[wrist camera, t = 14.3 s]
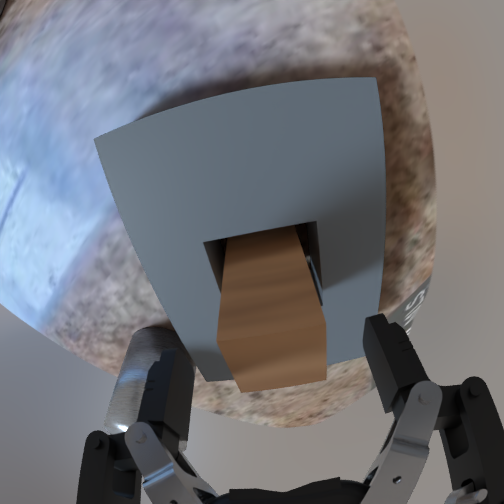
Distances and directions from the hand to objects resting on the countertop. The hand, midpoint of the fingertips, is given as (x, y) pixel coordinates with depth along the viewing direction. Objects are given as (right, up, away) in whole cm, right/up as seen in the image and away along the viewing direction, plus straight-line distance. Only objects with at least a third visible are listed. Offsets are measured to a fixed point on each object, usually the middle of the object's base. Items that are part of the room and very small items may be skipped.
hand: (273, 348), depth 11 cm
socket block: (0, +5, +8) cm, 9 cm away
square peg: (0, +5, +8) cm, 9 cm away
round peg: (-10, -6, +14) cm, 18 cm away
